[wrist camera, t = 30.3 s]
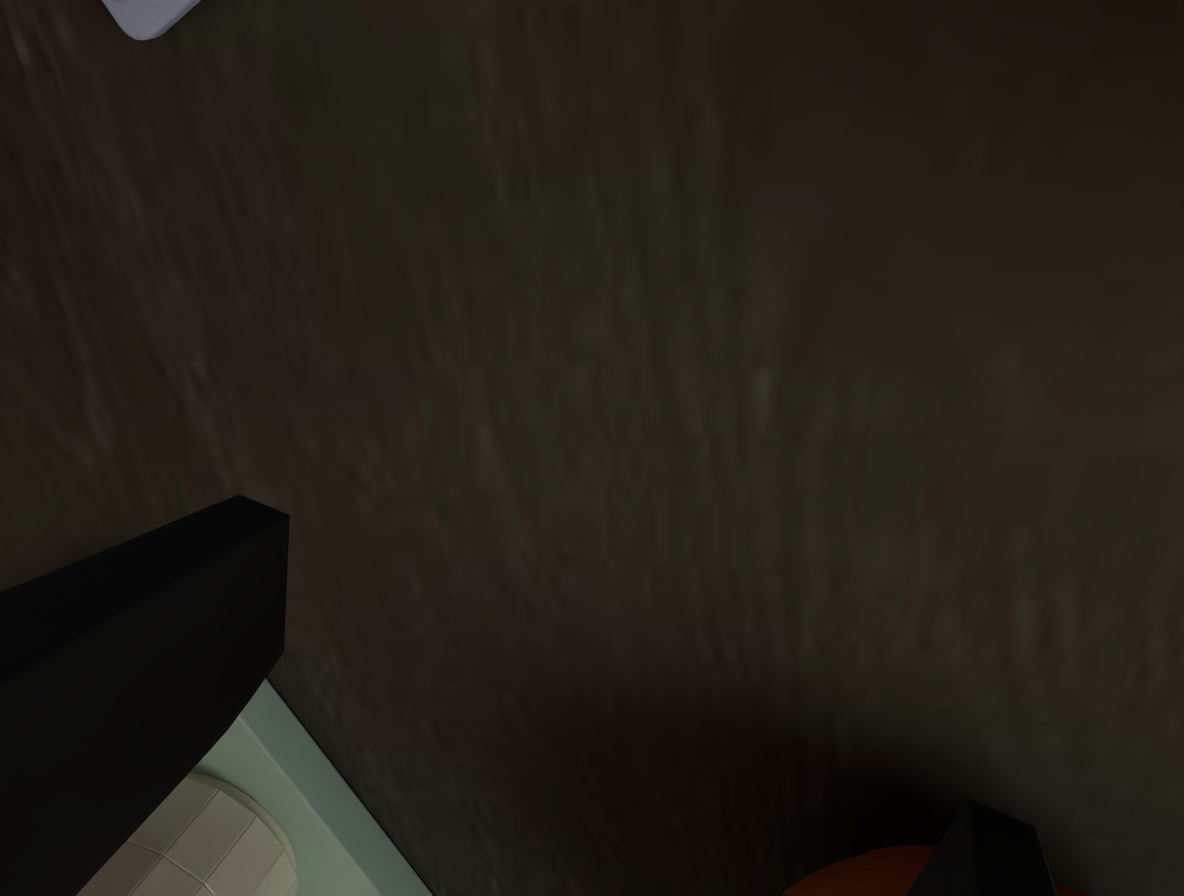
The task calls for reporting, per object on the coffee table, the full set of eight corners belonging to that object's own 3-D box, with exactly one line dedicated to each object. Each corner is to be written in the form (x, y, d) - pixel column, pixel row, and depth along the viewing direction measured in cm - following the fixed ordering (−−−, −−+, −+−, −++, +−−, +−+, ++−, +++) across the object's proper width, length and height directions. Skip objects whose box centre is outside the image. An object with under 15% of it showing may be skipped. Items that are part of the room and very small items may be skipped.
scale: (-62, 649, 33) (-148, 713, 31) (167, 547, 27) (80, 619, 24) (194, 940, 37) (135, 1018, 34) (449, 915, 30) (399, 1009, 28)
